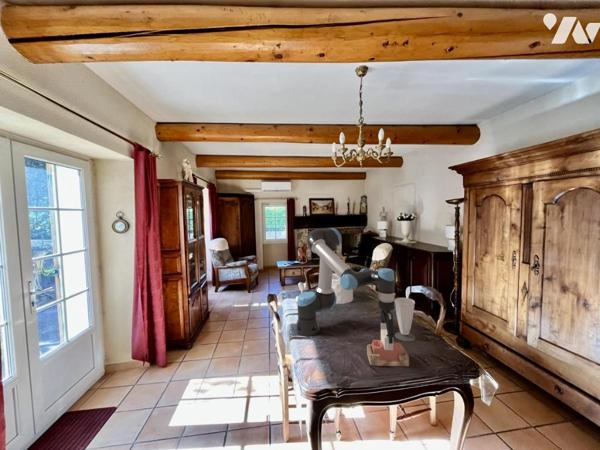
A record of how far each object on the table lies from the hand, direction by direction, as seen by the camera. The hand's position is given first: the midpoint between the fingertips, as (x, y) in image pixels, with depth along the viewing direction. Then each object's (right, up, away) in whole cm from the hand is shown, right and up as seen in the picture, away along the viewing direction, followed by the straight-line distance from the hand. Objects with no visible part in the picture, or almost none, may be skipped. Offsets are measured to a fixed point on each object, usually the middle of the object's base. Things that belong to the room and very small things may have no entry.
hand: (386, 342), depth 130 cm
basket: (-10, -5, +94) cm, 94 cm away
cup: (+19, -8, +24) cm, 31 cm away
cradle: (0, -9, 0) cm, 9 cm away
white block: (0, -2, 0) cm, 2 cm away
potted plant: (-40, -7, +71) cm, 82 cm away
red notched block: (0, -8, 0) cm, 8 cm away
